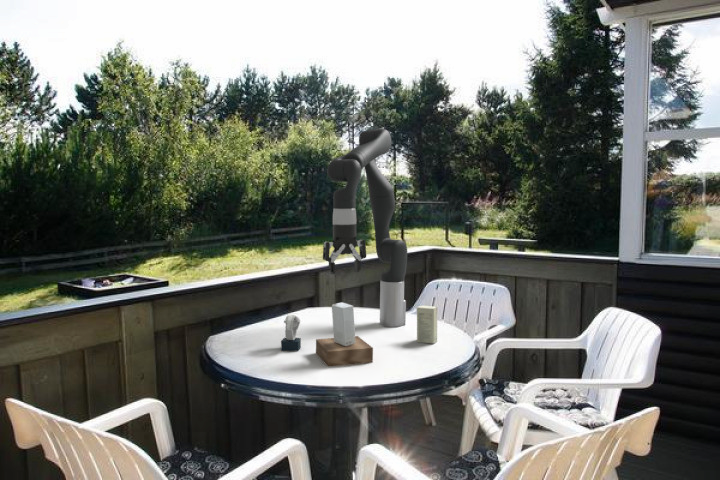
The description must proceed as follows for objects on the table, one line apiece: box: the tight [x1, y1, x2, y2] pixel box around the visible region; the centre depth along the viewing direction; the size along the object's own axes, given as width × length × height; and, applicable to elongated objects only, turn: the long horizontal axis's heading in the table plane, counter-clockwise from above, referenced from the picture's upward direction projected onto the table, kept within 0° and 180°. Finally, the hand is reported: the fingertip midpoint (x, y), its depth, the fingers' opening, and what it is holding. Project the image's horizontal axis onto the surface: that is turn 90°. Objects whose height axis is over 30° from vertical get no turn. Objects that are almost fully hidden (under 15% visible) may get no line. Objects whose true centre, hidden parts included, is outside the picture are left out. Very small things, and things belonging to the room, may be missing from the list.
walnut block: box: [315, 335, 374, 368], centre depth 165 cm, size 14×14×5 cm
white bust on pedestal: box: [280, 314, 302, 352], centre depth 173 cm, size 6×8×11 cm
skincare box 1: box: [331, 302, 356, 346], centre depth 164 cm, size 6×4×12 cm
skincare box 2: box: [416, 305, 438, 344], centre depth 184 cm, size 6×4×12 cm
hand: (344, 272), depth 172 cm, fingers open, 8 cm apart
